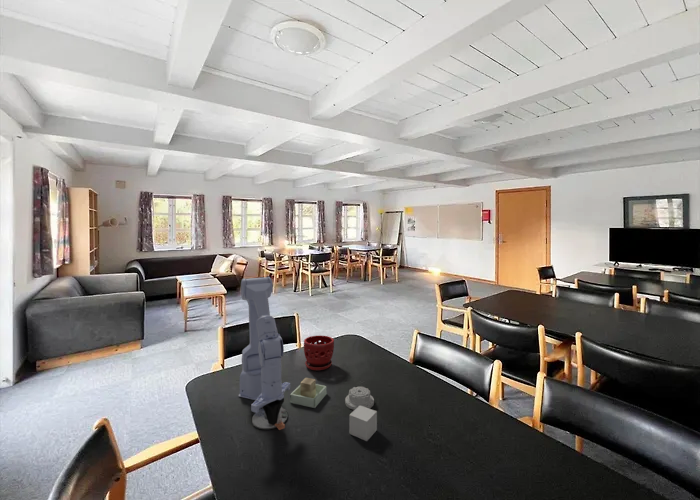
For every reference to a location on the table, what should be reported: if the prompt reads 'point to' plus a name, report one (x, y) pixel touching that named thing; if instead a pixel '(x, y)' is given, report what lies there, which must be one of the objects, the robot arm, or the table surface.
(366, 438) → the light grey cube
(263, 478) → the table surface
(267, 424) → the dial plate
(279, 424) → the crank
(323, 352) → the plant pot
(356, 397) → the mechanical component
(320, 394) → the tray
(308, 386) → the brown block
